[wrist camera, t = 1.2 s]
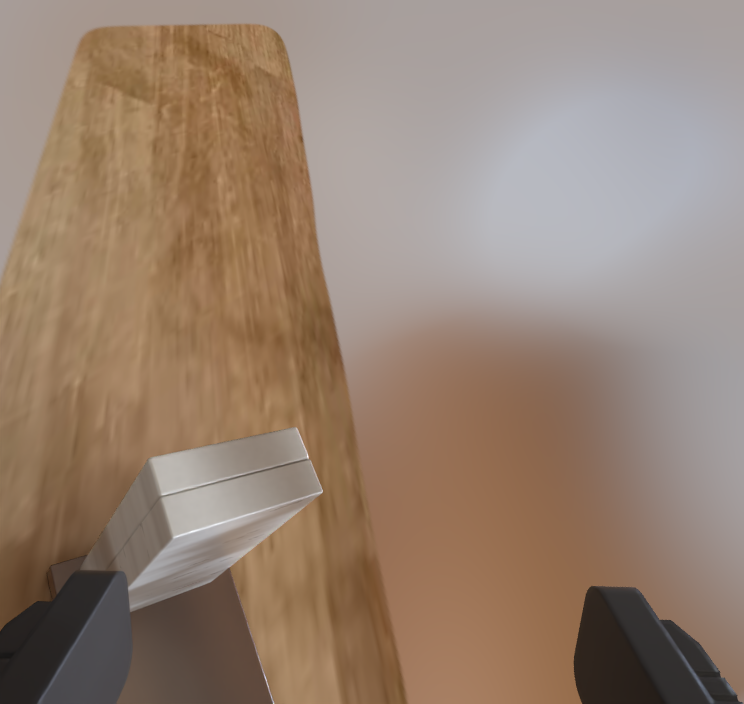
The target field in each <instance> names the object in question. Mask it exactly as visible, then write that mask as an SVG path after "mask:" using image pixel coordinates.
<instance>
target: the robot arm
mask: <svg viewBox="0 0 744 704" xmlns="http://www.w3.org/2000/svg"><path fill="white" fill-rule="evenodd" d="M132 650H133V640H132V629H131V617H130V605H129V593H128V582H127V577H126V574H125V573H124V572H123V571H105V570H77V571H75V572H74V573H72V575H71V576H70V577H69V579H68V580H67V581H66V583H65V584H64V586H63V587H62V588H61V590H60V591H59V592H58V594H57V595H56V597H55V598H54V599H53V601H52V602H45V601H37V602H36V603H34V604H33V605H32V606H30V607H29V608H27V609H26V610H25V611H23V612H22V613H21V614H19V615H18V616H17V617H15V618H14V619H13V620H11V621H10V622H8V623H7V624H6V625H5V626H4V627H3V629H2V630H1V631H0V704H116V703H117V700H118V698H119V696H120V694H121V692H122V690H123V687H124V685H125V683H126V680H127V677H128V673H129V669H130V665H131V659H132ZM574 675H575V681H576V686H577V690H578V693H579V696H580V699H581V701H582V704H743V703H742V702H739V701H738V699H737V695H736V693H735V692H734V690H733V689H732V688H731V686H730V685H729V683H728V682H727V681H726V680H725V678H721V676H720V671H719V670H718V668H717V667H716V666H715V664H714V663H713V662H712V660H711V659H710V657H709V656H708V655H707V653H706V652H705V650H704V649H703V648H702V646H701V645H700V644H699V643H698V642H697V641H695V640H694V639H693V638H692V637H691V636H690V635H688V634H687V633H686V632H685V631H683V630H682V629H681V628H680V627H679V626H677V625H676V624H675V623H674V622H673V621H671V620H659V618H658V617H657V615H656V614H655V612H654V611H653V609H652V608H651V606H650V605H649V603H648V602H647V601H646V599H645V598H644V596H643V595H642V593H641V592H640V591H639V590H638V589H636V588H633V587H605V586H592V587H590V588H589V589H588V591H587V593H586V597H585V602H584V607H583V613H582V618H581V623H580V628H579V633H578V639H577V644H576V649H575V655H574Z"/></svg>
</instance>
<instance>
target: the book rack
mask: <svg viewBox="0 0 744 704" xmlns="http://www.w3.org/2000/svg"><path fill="white" fill-rule="evenodd" d="M322 492H323V490H322V487H321V485H320V482H319V480H318V478H317V475H316V473H315V470H314V468H313V465H312V463H311V460H310V459H308V454H307V451H306V449H305V446H304V444H303V441H302V439H301V437H300V434H299V432H298V429H297V428H296V427H293V428H289V429H284V430H279V431H274V432H270V433H265V434H260V435H255V436H251V437H246V438H241V439H236V440H232V441H227V442H222V443H217V444H213V445H208V446H203V447H198V448H194V449H189V450H184V451H179V452H175V453H170V454H165V455H160V456H156V457H151V458H149V459H148V460H147V462H146V463H145V465H144V466H143V468H142V470H141V471H140V473H139V474H138V476H137V478H136V479H135V481H134V482H133V484H132V485H131V487H130V489H129V490H128V492H127V493H126V495H125V497H124V498H123V500H122V501H121V503H120V505H119V506H118V508H117V509H116V511H115V513H114V514H113V516H112V517H111V519H110V521H109V522H108V524H107V525H106V527H105V528H104V530H103V532H102V533H101V535H100V536H99V538H98V540H97V541H96V543H95V544H94V546H93V548H92V549H91V551H90V552H89V554H88V555H85V556H81V557H78V558H75V559H71V560H68V561H65V562H61V563H58V564H55V565H51V566H50V568H49V570H48V572H47V577H48V581H49V586H50V591H51V595H52V600H53V599H54V598H55V597H56V595H57V594H58V592H59V591H60V590H61V588H62V587H63V586H64V584H65V583H66V581H67V580H68V579H69V577H70V576H71V575H72V573H74V572H75V571H77V570H105V571H123V572H124V573H125V574H126V577H127V582H128V593H129V605H130V617H131V629H132V640H133V650H132V659H131V665H130V669H129V673H128V677H127V680H126V683H125V685H124V687H123V690H122V692H121V694H120V696H119V698H118V700H117V703H116V704H274V702H273V699H272V696H271V693H270V690H269V687H268V684H267V681H266V678H265V674H264V671H263V668H262V665H261V662H260V659H259V656H258V653H257V650H256V647H255V644H254V641H253V638H252V635H251V632H250V629H249V626H248V623H247V620H246V617H245V614H244V611H243V608H242V605H241V601H240V598H239V595H238V592H237V589H236V586H235V583H234V580H233V577H232V574H231V571H230V568H229V567H230V566H232V565H233V564H234V563H235V562H237V561H238V560H239V559H240V558H242V557H243V556H244V555H245V554H246V553H248V552H249V551H250V550H251V549H253V548H254V547H255V546H256V545H258V544H259V543H260V542H261V541H263V540H264V539H265V538H266V537H268V536H269V535H270V534H271V533H273V532H274V531H275V530H276V529H278V528H279V527H280V526H281V525H283V524H284V523H285V522H286V521H288V520H289V519H290V518H291V517H293V516H294V515H295V514H296V513H298V512H299V511H300V510H301V509H303V508H304V507H305V506H306V505H308V504H309V503H310V502H311V501H313V500H314V499H315V498H316V497H318V496H319V495H320V494H321V493H322Z"/></svg>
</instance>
